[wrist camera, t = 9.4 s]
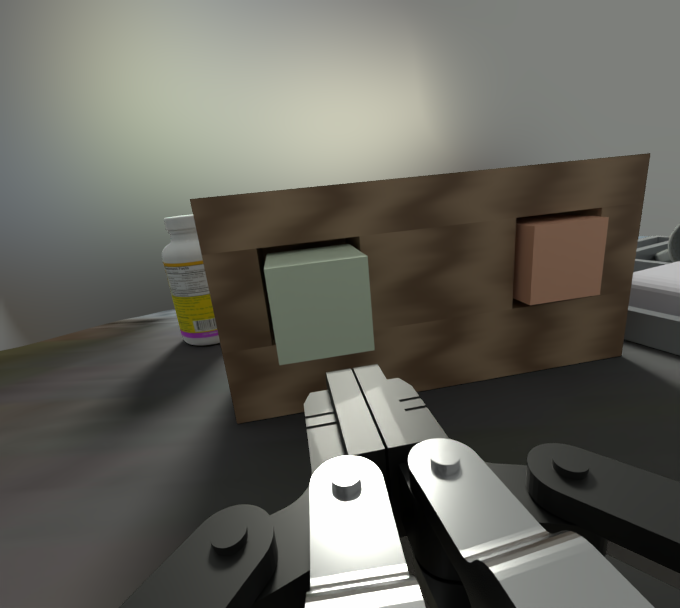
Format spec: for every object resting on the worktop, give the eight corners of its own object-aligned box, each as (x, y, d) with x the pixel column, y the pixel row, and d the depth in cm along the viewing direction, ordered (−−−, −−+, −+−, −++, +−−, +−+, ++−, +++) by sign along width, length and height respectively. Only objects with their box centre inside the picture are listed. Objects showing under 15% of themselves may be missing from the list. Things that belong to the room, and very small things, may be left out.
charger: (614, 293, 41) (819, 336, 27) (552, 309, 38) (747, 366, 25) (619, 251, 40) (838, 274, 26) (555, 264, 37) (764, 299, 23)
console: (237, 423, 24) (189, 199, 19) (247, 368, 31) (214, 198, 27) (621, 355, 27) (650, 153, 23) (546, 320, 35) (557, 164, 31)
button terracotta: (530, 305, 23) (534, 226, 22) (487, 287, 28) (489, 220, 27) (599, 294, 24) (608, 217, 23) (546, 278, 29) (551, 213, 27)
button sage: (279, 365, 19) (263, 269, 17) (279, 331, 23) (266, 253, 22) (374, 350, 19) (367, 256, 18) (355, 320, 24) (348, 243, 22)
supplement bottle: (219, 321, 44) (196, 213, 41) (259, 327, 41) (238, 209, 37) (169, 343, 39) (138, 220, 35) (211, 352, 35) (181, 217, 32)
